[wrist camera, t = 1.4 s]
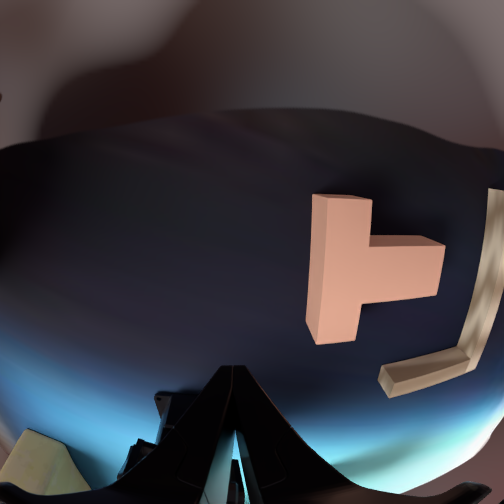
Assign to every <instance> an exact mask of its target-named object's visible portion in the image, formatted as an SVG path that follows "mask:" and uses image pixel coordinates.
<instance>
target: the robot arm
mask: <svg viewBox="0 0 504 504" xmlns="http://www.w3.org/2000/svg"><path fill="white" fill-rule="evenodd" d="M159 397H160V398H159ZM154 400H155V403H156V406H157V409H158V412H159V415H160V418H161V422H160V426H159V430H158V434H157V438H156V442H155V444H153V443H149V442H146V441H144V440H142V439H139V438H138V441H137V443H136V444H134V446H130V450H129V453H128V456H127V459H126V461H125V463H124V465H123V466H122V468H121V470H120V471H119V473H118V476H117V481H116V482H114V483H112V484H110V485H108V486H106V487H103V488H99V489H94V490H88V491H81V492H74V493H66V494H57V495H38V494H33V493H30V492H27V491H25V490H23V489H21V488H20V487H18V486H16V485H15V484H13V483H11V482H8V481H5V482H0V504H244V502H245V492H244V486H243V482H242V477H241V472H240V467H239V462H238V460H235V459H232V453H233V445H234V437H235V430H236V436H237V441H238V447H239V452H240V457H241V462H242V467H243V472H244V477H245V482H246V487H247V492H248V496H249V501H250V504H478V503H479V502H480V501H481V500H483V498H485V497H486V496H487V495H488V494H489V493H490V492H491V491H492V489H491V488H490V487H488V486H486V485H484V484H481V483H475V482H469V481H467V482H463V483H461V484H459V485H457V486H455V487H454V488H452V489H450V490H448V491H447V492H444V493H442V494H439V495H435V496H429V497H416V496H408V495H401V494H394V493H389V492H383V491H378V490H373V489H368V488H365V487H362V486H359V485H357V484H355V483H353V482H352V481H350V480H349V479H347V478H346V477H345V476H344V475H342V474H341V473H340V472H339V471H337V470H336V469H335V468H334V467H332V466H331V465H330V464H329V463H328V462H326V461H325V460H324V459H323V458H322V457H320V456H319V455H318V454H317V453H316V452H315V451H314V450H313V449H312V448H311V447H310V446H308V445H307V443H306V442H305V441H304V440H303V439H302V438H301V437H300V436H299V435H298V433H297V432H296V431H295V430H294V428H293V427H291V425H290V424H289V422H288V421H287V420H286V419H285V417H284V416H283V415H282V414H281V412H280V411H279V410H278V408H277V407H276V406H275V405H274V403H273V402H272V401H271V399H270V398H269V397H268V395H267V394H266V393H265V391H264V390H263V389H262V387H261V386H260V385H259V383H258V382H257V381H256V379H255V378H254V377H253V375H252V374H251V373H250V371H249V370H248V368H247V367H246V366H245V365H234V366H231V365H227V366H220V368H219V369H218V370H217V372H216V373H215V374H214V375H213V377H212V378H211V379H210V381H209V382H208V383H207V385H206V386H205V387H204V389H203V390H202V391H201V392H200V394H199V395H185V394H169V393H156V394H155V396H154ZM499 504H504V499H503V500H502V501H501V502H500V503H499Z"/></svg>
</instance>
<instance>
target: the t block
mask: <svg viewBox="0 0 504 504" xmlns="http://www.w3.org/2000/svg"><path fill="white" fill-rule="evenodd" d="M371 214H372V200H370V199H366V198H362V197H357V196H352V195H333V194H312V229H311V252H310V271H309V286H308V300H307V312H306V323H307V325H308V327H309V330H310V332H311V334H312V336H313V339H314V341H315V343H316V345H318V344H328V343H337V342H346V341H354V340H355V338H356V333H357V328H358V322H359V317H360V311H361V305H362V304H365V303H375V302H385V301H394V300H403V299H411V298H419V297H427V296H434V295H436V294H437V290H438V285H439V280H440V275H441V270H442V265H443V259H444V253H445V245H443V244H440V243H438V242H435V241H433V240H431V239H428V238H426V237H423V236H421V235H370V228H371Z"/></svg>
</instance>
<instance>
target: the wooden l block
mask: <svg viewBox="0 0 504 504" xmlns="http://www.w3.org/2000/svg"><path fill="white" fill-rule="evenodd" d="M503 288H504V191H502V190H496V189H490V188H488V205H487V217H486V226H485V234H484V241H483V248H482V254H481V260H480V265H479V270H478V275H477V279H476V284H475V288H474V292H473V296H472V300H471V303H470V307H469V311H468V314H467V317H466V321H465V324H464V327H463V330H462V333H461V336H460V339H459V342H458V344H457V346H456V347H453V348H449V349H446V350H442V351H439V352H435V353H432V354H428V355H424V356H420V357H416V358H412V359H408V360H404V361H399V362H395V363H390V364H385V365H382V367H381V370H380V373H379V377H378V381H379V383H380V385H381V386H382V388H383V390H384V391H385V393H386V394H387V396H388V398H392V397H396V396H399V395H403V394H406V393H410V392H413V391H416V390H420V389H423V388H426V387H429V386H432V385H435V384H438V383H441V382H443V381H446V380H449V379H451V378H454V377H457V376H459V375H462V374H464V373H467V372H469V371H471V370H474V369H475V368H476V365H477V363H478V361H479V359H480V356H481V354H482V351H483V349H484V346H485V344H486V341H487V339H488V336H489V333H490V331H491V328H492V325H493V322H494V319H495V316H496V313H497V309H498V306H499V303H500V299H501V296H502V292H503Z"/></svg>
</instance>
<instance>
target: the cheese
mask: <svg viewBox="0 0 504 504" xmlns="http://www.w3.org/2000/svg"><path fill="white" fill-rule="evenodd" d="M5 481H8V482H11V483H13V484H15V485H16V486H18V487H20V488H21V489H23V490H25V491H27V492H30V493H33V494H38V495H57V494H66V493H74V492H81V491H88V490H92V489H91V488H90V487H89V485H88V484H87V482H86V481H85V480H84V478H83V477H82V475H81V474H80V472H79V471H78V469H77V468H76V466H75V464H74V462H73V460H72V458H71V456H70V454H69V452H68V450H67V448H66V446H65V445H64V444H63V443H61V442H59V441H56V440H54V439H51V438H49V437H46V436H44V435H42V434H39V433H37V432H35V431H32V430H29V429H26V430H25V431H24V432H23V434H22V435H21V437H20V438H19V440H18V441H17V443H16V445H15V447H14V448H13V450H12V452H11V454H10V455H9V457H8V459H7V461H6V463H5V464H4V466H3V468H2V470H1V472H0V482H5Z"/></svg>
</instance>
